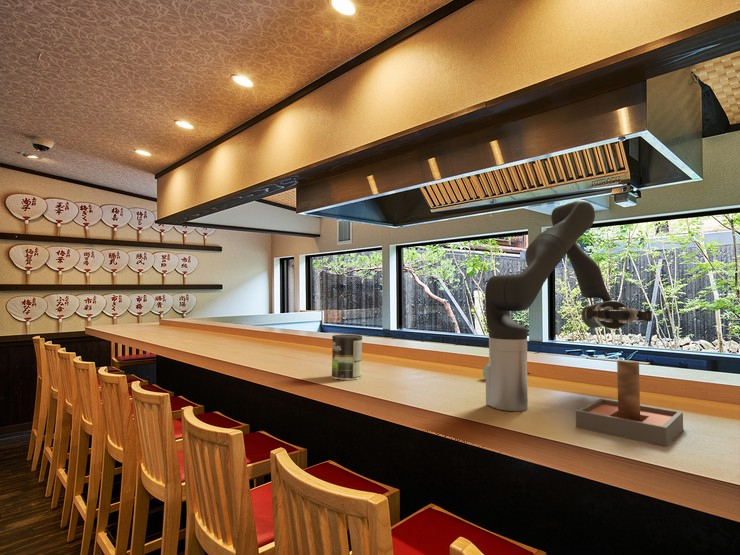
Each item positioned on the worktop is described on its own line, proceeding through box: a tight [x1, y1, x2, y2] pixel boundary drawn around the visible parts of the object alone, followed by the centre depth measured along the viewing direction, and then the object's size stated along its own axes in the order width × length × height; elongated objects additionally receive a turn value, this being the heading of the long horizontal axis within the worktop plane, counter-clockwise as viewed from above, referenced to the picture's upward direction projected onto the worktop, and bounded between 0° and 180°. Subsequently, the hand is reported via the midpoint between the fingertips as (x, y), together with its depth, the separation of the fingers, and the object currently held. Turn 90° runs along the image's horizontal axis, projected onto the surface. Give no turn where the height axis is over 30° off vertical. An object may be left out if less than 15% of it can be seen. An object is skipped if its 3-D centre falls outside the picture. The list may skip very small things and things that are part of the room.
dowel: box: [616, 359, 641, 422], centre depth 89 cm, size 4×4×14 cm
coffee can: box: [331, 334, 363, 381], centre depth 142 cm, size 10×10×14 cm
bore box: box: [575, 398, 684, 448], centre depth 89 cm, size 16×16×4 cm
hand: (622, 314), depth 100 cm, fingers open, 8 cm apart
